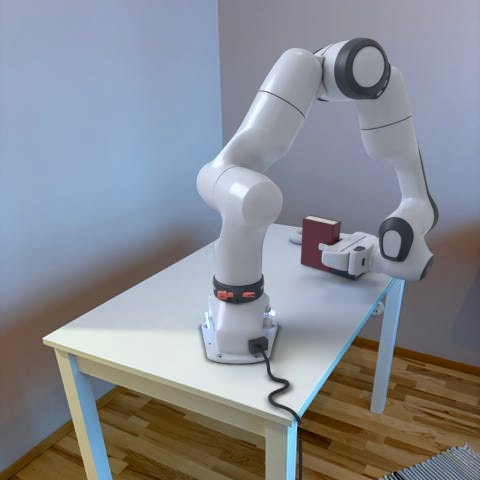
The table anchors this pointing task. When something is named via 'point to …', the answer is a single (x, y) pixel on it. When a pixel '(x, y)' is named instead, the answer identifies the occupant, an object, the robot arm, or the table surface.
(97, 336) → the table surface
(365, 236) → the robot arm
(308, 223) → the burgundy book
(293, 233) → the donut
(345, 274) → the slate book
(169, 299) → the table surface
